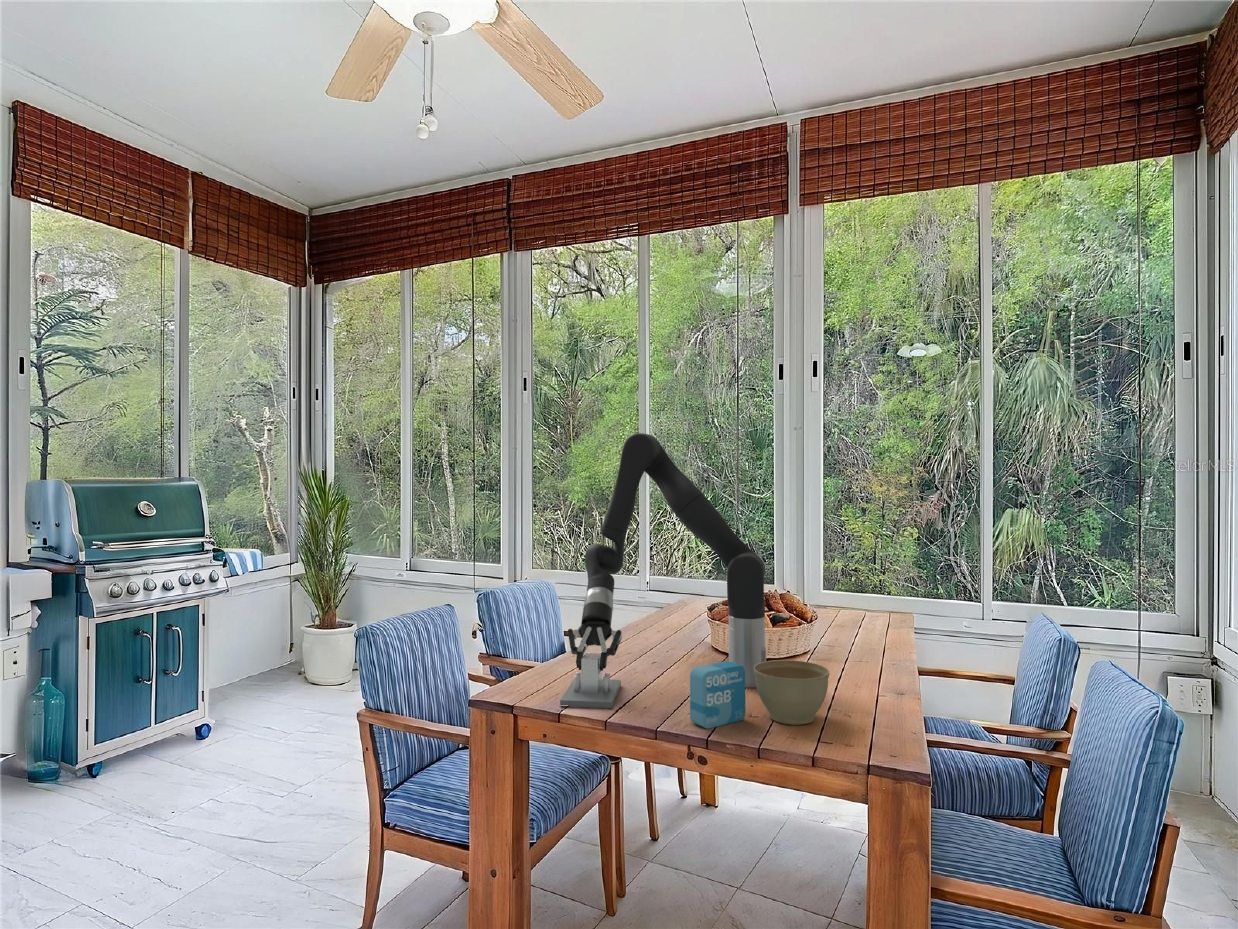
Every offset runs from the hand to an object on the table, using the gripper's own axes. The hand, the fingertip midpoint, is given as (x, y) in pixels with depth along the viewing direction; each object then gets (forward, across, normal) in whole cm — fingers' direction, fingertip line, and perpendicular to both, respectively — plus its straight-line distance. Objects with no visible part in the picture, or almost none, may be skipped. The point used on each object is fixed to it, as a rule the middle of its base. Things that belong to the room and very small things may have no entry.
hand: (590, 668), depth 169 cm
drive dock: (+4, 0, +6) cm, 7 cm away
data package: (+15, +30, -4) cm, 34 cm away
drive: (+3, 0, +5) cm, 6 cm away
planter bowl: (+12, +46, -1) cm, 47 cm away
